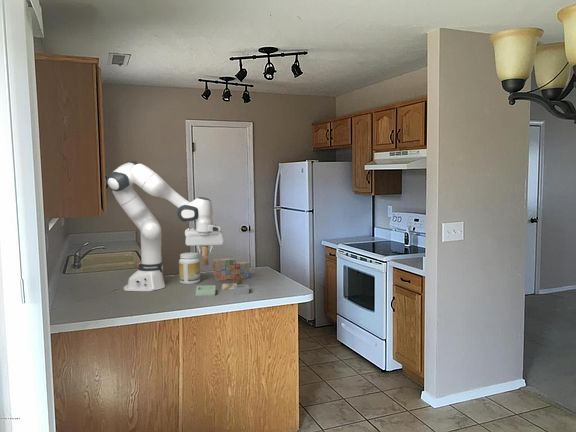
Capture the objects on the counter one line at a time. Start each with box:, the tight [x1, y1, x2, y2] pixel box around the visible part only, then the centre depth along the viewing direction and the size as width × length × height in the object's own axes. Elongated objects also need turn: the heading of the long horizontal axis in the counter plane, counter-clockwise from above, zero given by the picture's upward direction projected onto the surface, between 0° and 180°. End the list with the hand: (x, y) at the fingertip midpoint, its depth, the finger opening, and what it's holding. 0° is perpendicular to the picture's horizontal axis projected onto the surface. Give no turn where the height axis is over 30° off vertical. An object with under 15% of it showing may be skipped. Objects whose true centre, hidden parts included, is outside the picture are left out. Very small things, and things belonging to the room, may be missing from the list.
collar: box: [233, 284, 250, 295], centre depth 267 cm, size 8×8×3 cm
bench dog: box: [236, 277, 243, 285], centre depth 274 cm, size 3×5×6 cm, turn 6°
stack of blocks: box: [212, 257, 251, 282], centre depth 298 cm, size 21×6×12 cm, turn 112°
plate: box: [221, 282, 237, 291], centre depth 274 cm, size 8×6×2 cm
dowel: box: [201, 245, 210, 266], centre depth 262 cm, size 3×3×10 cm
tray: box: [195, 284, 217, 297], centre depth 264 cm, size 10×10×3 cm
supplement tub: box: [178, 252, 201, 285], centre depth 288 cm, size 12×12×17 cm
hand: (205, 253), depth 262 cm, fingers closed on dowel, 3 cm apart
